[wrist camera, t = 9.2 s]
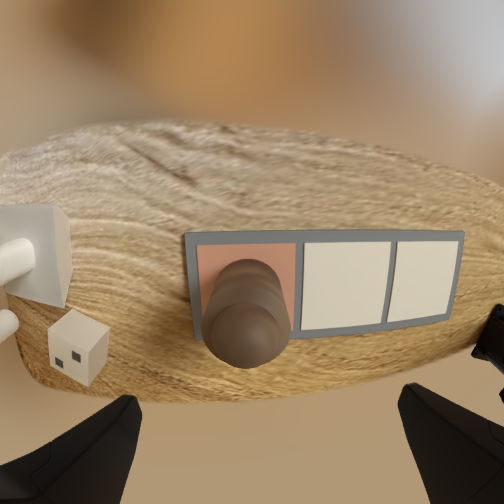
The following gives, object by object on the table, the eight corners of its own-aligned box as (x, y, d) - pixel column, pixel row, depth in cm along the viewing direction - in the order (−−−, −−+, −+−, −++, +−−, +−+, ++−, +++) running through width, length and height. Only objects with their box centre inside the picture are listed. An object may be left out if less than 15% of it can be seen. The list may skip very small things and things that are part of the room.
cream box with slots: (110, 327, 20) (88, 352, 16) (107, 361, 21) (88, 387, 17) (72, 308, 20) (46, 329, 16) (71, 343, 21) (49, 366, 17)
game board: (461, 230, 18) (465, 231, 18) (446, 317, 20) (449, 320, 20) (185, 232, 18) (184, 233, 18) (196, 337, 20) (194, 341, 20)
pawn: (290, 271, 18) (313, 327, 11) (266, 327, 19) (272, 400, 12) (227, 249, 18) (210, 292, 11) (207, 307, 19) (183, 374, 12)
